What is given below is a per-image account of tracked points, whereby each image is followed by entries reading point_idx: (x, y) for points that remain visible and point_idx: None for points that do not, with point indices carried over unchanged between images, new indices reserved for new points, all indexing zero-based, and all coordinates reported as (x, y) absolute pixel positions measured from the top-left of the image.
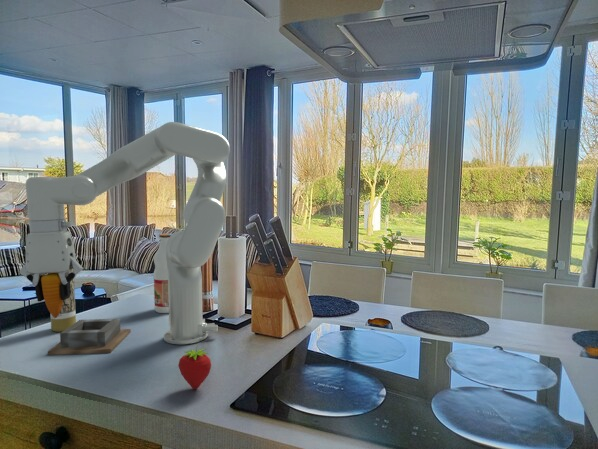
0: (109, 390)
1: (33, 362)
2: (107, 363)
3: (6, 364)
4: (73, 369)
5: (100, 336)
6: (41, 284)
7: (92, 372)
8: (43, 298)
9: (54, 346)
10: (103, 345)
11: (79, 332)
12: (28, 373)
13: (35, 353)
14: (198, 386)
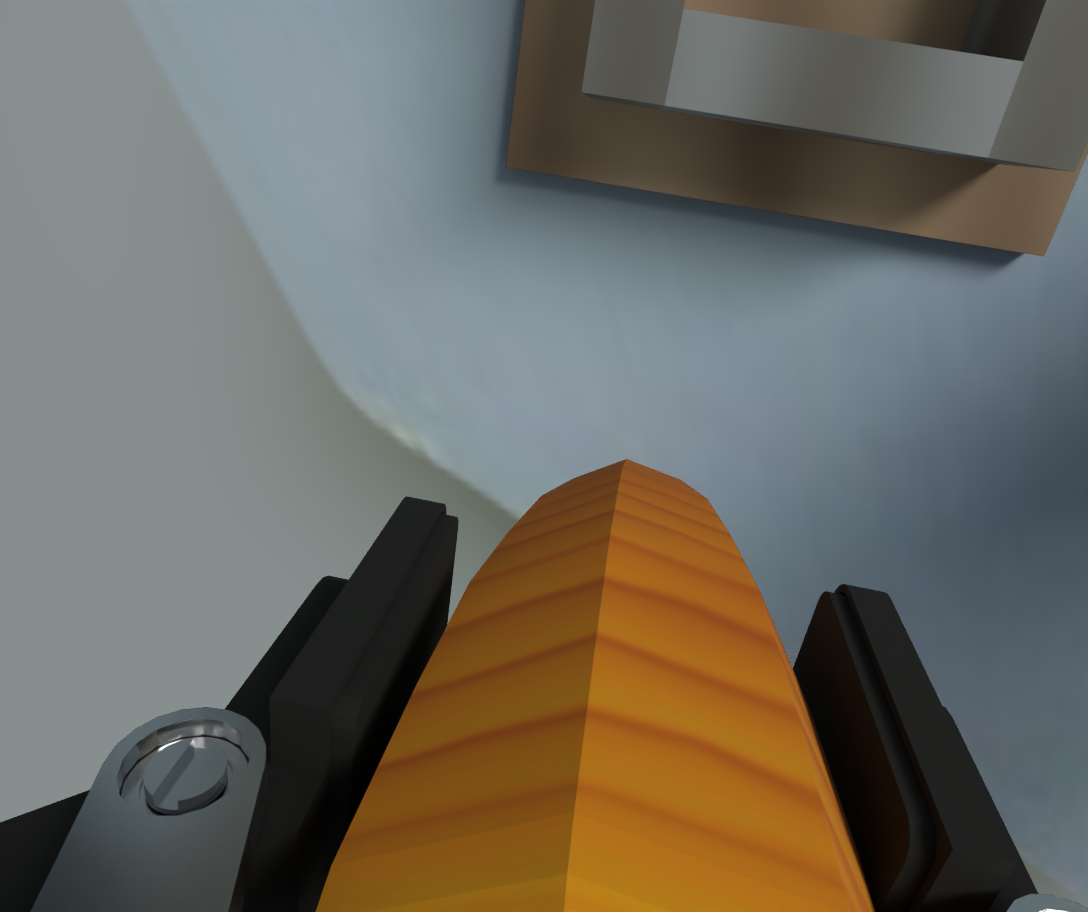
0: (998, 793)
1: (460, 301)
2: (995, 462)
3: (287, 289)
4: (771, 497)
5: (1001, 161)
6: (324, 854)
7: (898, 573)
8: (444, 629)
9: (522, 43)
10: (985, 163)
11: (790, 117)
12: (505, 481)
13: (392, 95)
14: None
